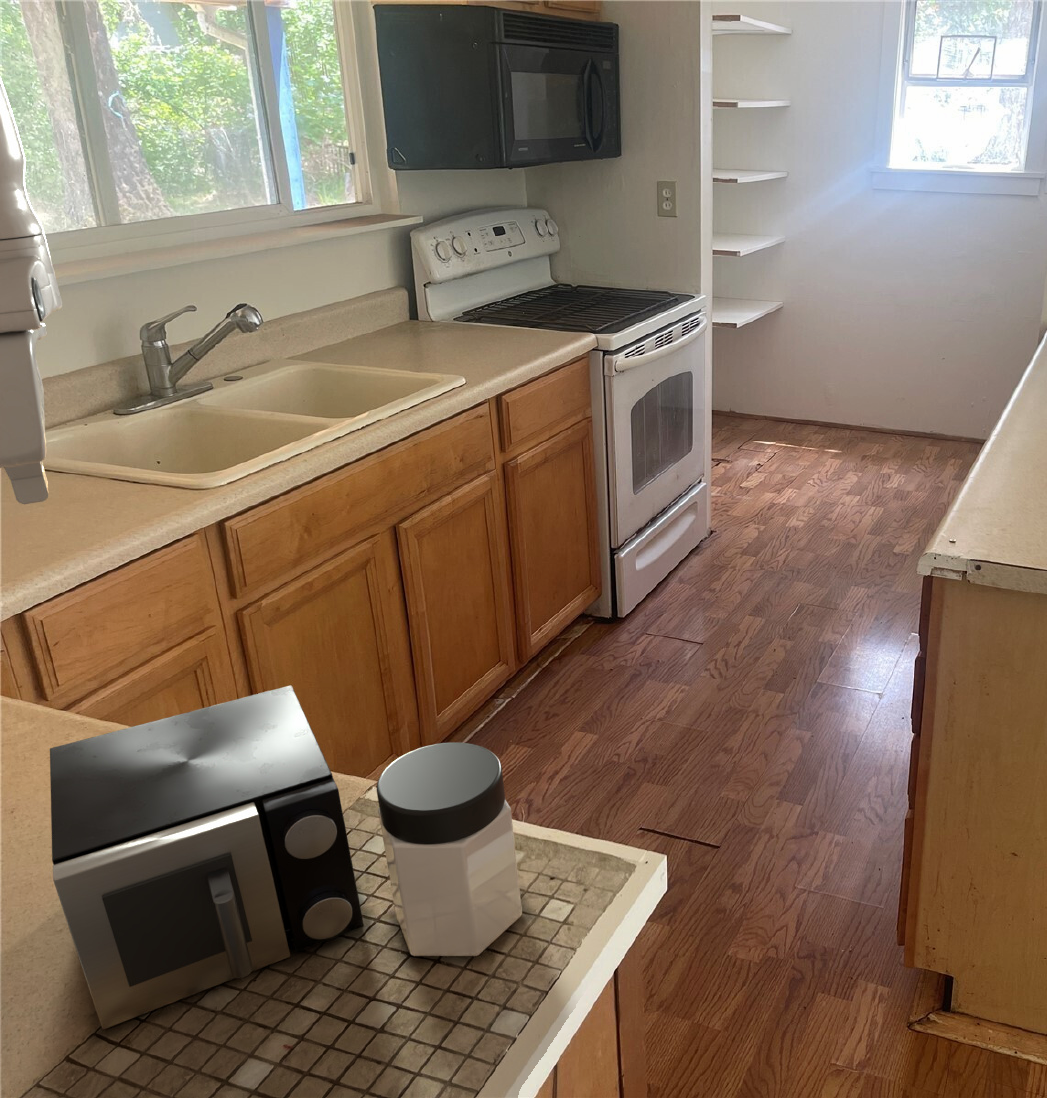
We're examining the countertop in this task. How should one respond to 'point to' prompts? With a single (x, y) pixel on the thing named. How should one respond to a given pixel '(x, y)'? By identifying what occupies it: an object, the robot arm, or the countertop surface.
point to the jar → (449, 848)
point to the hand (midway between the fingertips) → (34, 497)
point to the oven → (218, 798)
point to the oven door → (172, 913)
